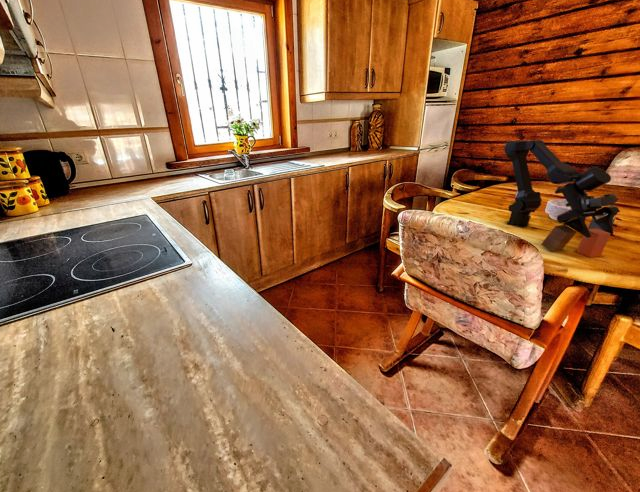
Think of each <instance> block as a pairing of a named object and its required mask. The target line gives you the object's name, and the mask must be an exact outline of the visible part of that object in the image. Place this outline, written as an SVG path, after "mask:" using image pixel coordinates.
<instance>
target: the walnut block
mask: <svg viewBox="0 0 640 492" xmlns="http://www.w3.org/2000/svg"><path fill="white" fill-rule="evenodd" d="M577 233H578V232H577V231H576V230H574V229H572V228H571V227H569V226H567V225H564V224H561V225H555V226H554V227H553V228H552V230H551V231H550V232H549V233H548V235H547V236H546V237H545V238H544V239H543V241H542V242H541V243H540V245H541V246H542V247H543V248H545V249H547V250H548V251H549V252H551V253H555V252H559V251H560V252H562V250H563V249H564V248H565V247H566V246H567V245H568V244H569V242H570V241H571V240H572V239H573V237H574V236H575V235H576V234H577Z"/></svg>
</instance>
